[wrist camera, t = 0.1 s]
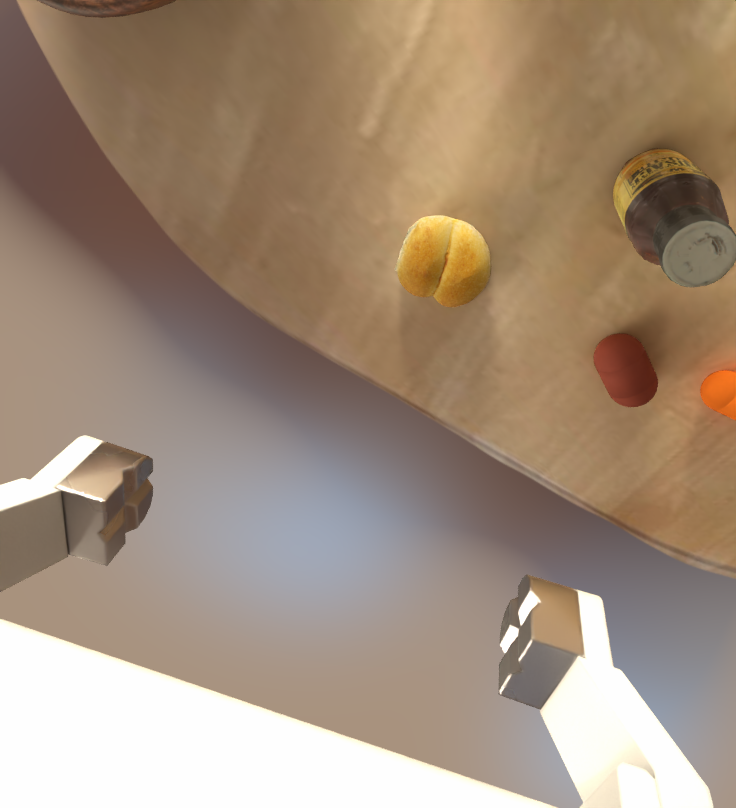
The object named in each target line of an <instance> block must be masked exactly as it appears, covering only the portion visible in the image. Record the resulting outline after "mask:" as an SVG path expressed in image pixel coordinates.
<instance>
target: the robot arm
mask: <svg viewBox="0 0 736 808" xmlns="http://www.w3.org/2000/svg"><path fill="white" fill-rule="evenodd" d="M152 472H153V460H152V458H150V457H149V456H146V455H143V454H140V453H137V452H134V451H132V450H129V449H126V448H123V447H120V446H117V445H114V444H111V443H108V442H104V441H101V440H98V439H95V438H92V437H89V436H86V435H84V436H82V437H78V438H77V439H76V440H75V441H74V442H72V443H71V444H70V445H69V446H68V447H67V448H66V449H64V450H63V451H62V452H61V453H60V454H59V455H58V456H57V457H55V458H54V459H53V460H52V461H51V462H50V463H49V464H48V465H46V466H45V467H44V468H43V469H42V470H41V471H40V472H39V473H37V474H36V475H35V476H34V477H33V478H32V479H31V480H28V479H24V478H22V479H19V480H16V481H13V482H9V483H6V484H3V485H0V592H1V591H3V590H5V589H7V588H9V587H11V586H13V585H15V584H17V583H19V582H21V581H22V580H24V579H26V578H28V577H30V576H32V575H34V574H36V573H38V572H40V571H42V570H44V569H46V568H48V567H49V566H51V565H53V564H55V563H57V562H59V561H61V560H63V559H65V558H67V557H68V554H69V555H72V556H75V557H79V558H82V559H86V560H89V561H92V562H96V563H99V564H102V565H106V566H107V565H108V564H109V563H110V562H111V561H112V559H113V558H114V556H115V555H116V554H117V553H118V552H119V550H120V549H121V548H122V547H123V545H124V544H125V533H126V532H129V531H131V530H134V529H136V528H137V527H138V526H139V525H140V523H141V522H142V521H143V520H144V518H145V516H146V514H147V512H148V509H149V508H150V505H151V501H152V496H153V486H152V485H151V483H150V482H149V480H148V479H147V478H148V476H149V475H150V474H151V473H152ZM500 646H501V648H502V650H503V651H504V653H505V655H504V657H503V659H502V661H501V662H500V664H499V695H501V696H504V697H507V698H510V699H513V700H515V701H518V702H521V703H524V704H526V705H529V706H532V707H535V708H537V709H540V713H541V716H542V718H543V720H544V722H545V724H546V726H547V728H548V730H549V732H550V734H551V736H552V738H553V740H554V742H555V745H556V747H557V749H558V751H559V753H560V755H561V757H562V759H563V761H564V763H565V765H566V768H567V770H568V771H569V774H570V776H571V778H572V780H573V782H574V784H575V786H576V788H577V790H578V793H579V795H580V797H581V798H582V801H583V804H582V805H581V806H580V807H579V808H714V807H713V803H712V799H711V795H710V792H709V788H708V787H707V786H706V784H705V783H704V782H703V780H702V779H701V778H700V776H699V775H698V774H697V772H696V771H695V769H694V768H693V767H692V766H691V764H690V763H689V761H688V760H687V759H686V758H685V756H684V755H683V753H682V752H681V751H680V749H679V748H678V747H677V745H676V744H675V743H674V741H673V740H672V738H671V737H670V736H669V734H668V733H667V732H666V730H665V729H664V728H663V726H662V725H661V724H660V722H659V721H658V719H657V718H656V717H655V715H654V714H653V713H652V711H651V710H650V709H649V707H648V706H647V705H646V703H645V702H644V700H643V699H642V698H641V697H640V695H639V694H638V693H637V691H636V690H635V688H634V687H633V686H632V684H631V683H630V682H629V680H628V679H627V678H626V676H625V675H624V674H623V672H622V671H621V670H619V669H616V668H614V667H613V661H612V654H611V649H610V642H609V636H608V630H607V624H606V618H605V612H604V606H603V601H602V599H601V598H600V596H597V595H593V594H590V593H586V592H583V591H580V590H577V589H573V588H570V587H566V586H563V585H560V584H557V583H553V582H550V581H547V580H543V579H540V578H537V577H533V576H530V575H526V576H524V577H523V578H522V580H521V582H520V584H519V586H518V597H517V598H515V599H512V600H511V601H510V603H509V605H508V607H507V609H506V611H505V614H504V617H503V621H502V625H501V632H500ZM0 808H557V807H554V806H551V805H548V804H545V803H542V802H539V801H536V800H533V799H531V798H528V797H525V796H522V795H519V794H516V793H513V792H510V791H507V790H504V789H501V788H498V787H495V786H492V785H489V784H486V783H483V782H480V781H478V780H474V779H472V778H469V777H466V776H463V775H459V774H457V773H454V772H451V771H448V770H445V769H442V768H439V767H436V766H433V765H430V764H427V763H424V762H421V761H419V760H416V759H413V758H410V757H406V756H404V755H401V754H398V753H395V752H392V751H389V750H386V749H383V748H380V747H377V746H374V745H371V744H368V743H365V742H362V741H359V740H356V739H353V738H350V737H347V736H344V735H342V734H338V733H335V732H333V731H330V730H327V729H324V728H321V727H318V726H315V725H312V724H308V723H306V722H303V721H300V720H297V719H294V718H291V717H288V716H285V715H282V714H279V713H276V712H273V711H270V710H268V709H265V708H262V707H258V706H255V705H253V704H250V703H247V702H244V701H241V700H238V699H235V698H232V697H229V696H226V695H224V694H221V693H218V692H215V691H212V690H209V689H206V688H203V687H200V686H197V685H194V684H191V683H188V682H185V681H182V680H179V679H177V678H174V677H171V676H168V675H165V674H162V673H159V672H156V671H153V670H150V669H147V668H144V667H141V666H138V665H135V664H132V663H129V662H127V661H123V660H121V659H117V658H115V657H112V656H109V655H106V654H103V653H100V652H97V651H94V650H91V649H88V648H85V647H82V646H79V645H76V644H73V643H70V642H68V641H65V640H62V639H58V638H55V637H53V636H50V635H47V634H44V633H41V632H38V631H35V630H32V629H29V628H26V627H23V626H20V625H18V624H15V623H11V622H9V621H6V620H3V619H0Z"/></svg>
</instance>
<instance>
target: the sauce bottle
mask: <svg viewBox="0 0 736 808" xmlns="http://www.w3.org/2000/svg"><path fill="white" fill-rule="evenodd" d="M613 200H614V205H615V208H616V210H617V212H618V214H619V217H620V219H621V221H622V224H623V226H624V228H625V231H626V234H627V236H628V238H629V240H630V241H631V242H632V244H633V246H634V248H635V249H636V251H637V252H638V253H639V255H641V256H642V257H643V259H644V260H647V261H649V262H651V263H653V264H656V265H660V266H661V268H662V269H663V271H664V272H665V274H666V275H667V276H668V278H669V279H670V280H671V281H673V282H675V283H677V284H679V285H681V286H685V287H699V286H706V285H709V284H712V283H714V282H716V281H717V280H719V279H720V278H722V277H723V276H724V275H725V274H726V273H727V272H728V271H729V270H730V268H731V267H732V266H733V265H734V263H735V261H736V235H735V233H734V231H733V230H732V228H731V227H730V226H729V225H728V224H729V220H728V216H727V213H726V210H725V206H724V203H723V199H722V196H721V193H720V190H719V188H718V186H717V185H716V184H715V183H714V182H713V181H712V180H711V179H710V178H709V177H708V176H707V175H706V174H704V173H703V172H702V171H701V170H700V169H699V168H697V167H696V166H695V165H694V164H693V163H692V162H691V161H689V160H688V159H687V158H686V157H685V156H683V155H682V154H680V153H678V152H676V151H673V150H668V149H652V150H648V151H646V152H643V153H640V154H639V155H637V156H635V157H634V158H632V159H630V160H629V161H628V162H627V163H626V164H625V166H624V167H623V169H622V170H621V172H620V173H619V175H618V177H617V179H616V182H615V185H614V190H613Z"/></svg>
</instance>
